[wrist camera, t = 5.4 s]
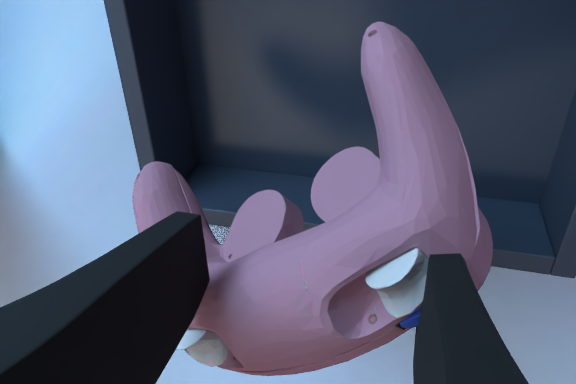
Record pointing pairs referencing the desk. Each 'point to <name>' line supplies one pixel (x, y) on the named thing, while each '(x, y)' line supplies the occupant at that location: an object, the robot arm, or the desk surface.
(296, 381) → the desk surface
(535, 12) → the bin
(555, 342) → the desk surface
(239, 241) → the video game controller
